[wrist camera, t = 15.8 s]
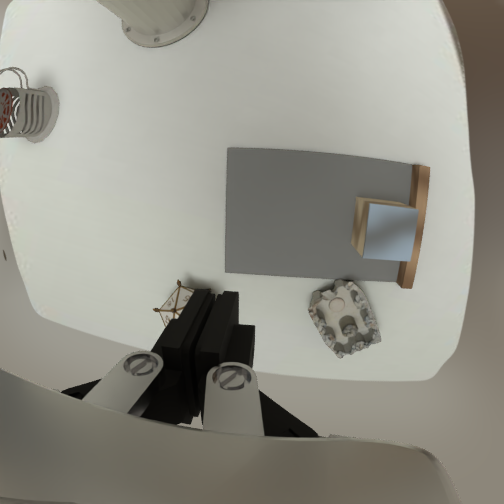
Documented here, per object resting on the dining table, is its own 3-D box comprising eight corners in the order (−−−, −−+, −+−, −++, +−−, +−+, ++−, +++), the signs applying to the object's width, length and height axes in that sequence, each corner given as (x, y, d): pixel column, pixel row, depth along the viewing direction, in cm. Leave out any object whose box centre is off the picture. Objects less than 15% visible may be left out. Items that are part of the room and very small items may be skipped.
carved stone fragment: (302, 294, 39) (304, 309, 36) (353, 270, 38) (360, 282, 34) (331, 350, 42) (335, 367, 38) (377, 329, 40) (385, 345, 36)
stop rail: (411, 164, 33) (419, 165, 31) (421, 166, 33) (430, 167, 31) (395, 281, 38) (401, 288, 36) (405, 281, 38) (411, 288, 35)
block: (418, 209, 29) (399, 201, 34) (370, 203, 29) (356, 196, 35) (410, 261, 31) (392, 246, 36) (362, 258, 31) (350, 243, 37)
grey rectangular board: (228, 147, 35) (227, 147, 35) (411, 164, 33) (412, 164, 33) (225, 271, 40) (225, 272, 39) (395, 281, 38) (396, 282, 38)
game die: (216, 289, 45) (250, 326, 37) (180, 330, 44) (207, 373, 36) (174, 257, 39) (203, 294, 31) (135, 304, 38) (155, 350, 31)
